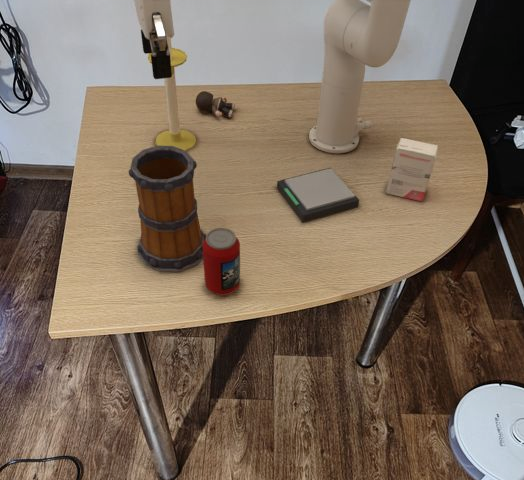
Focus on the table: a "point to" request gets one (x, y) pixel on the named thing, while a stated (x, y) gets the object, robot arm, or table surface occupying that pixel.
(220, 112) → the figurine
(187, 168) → the mug
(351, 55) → the robot arm
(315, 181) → the scale
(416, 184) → the ink box
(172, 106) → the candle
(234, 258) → the beverage can
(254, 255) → the table surface
